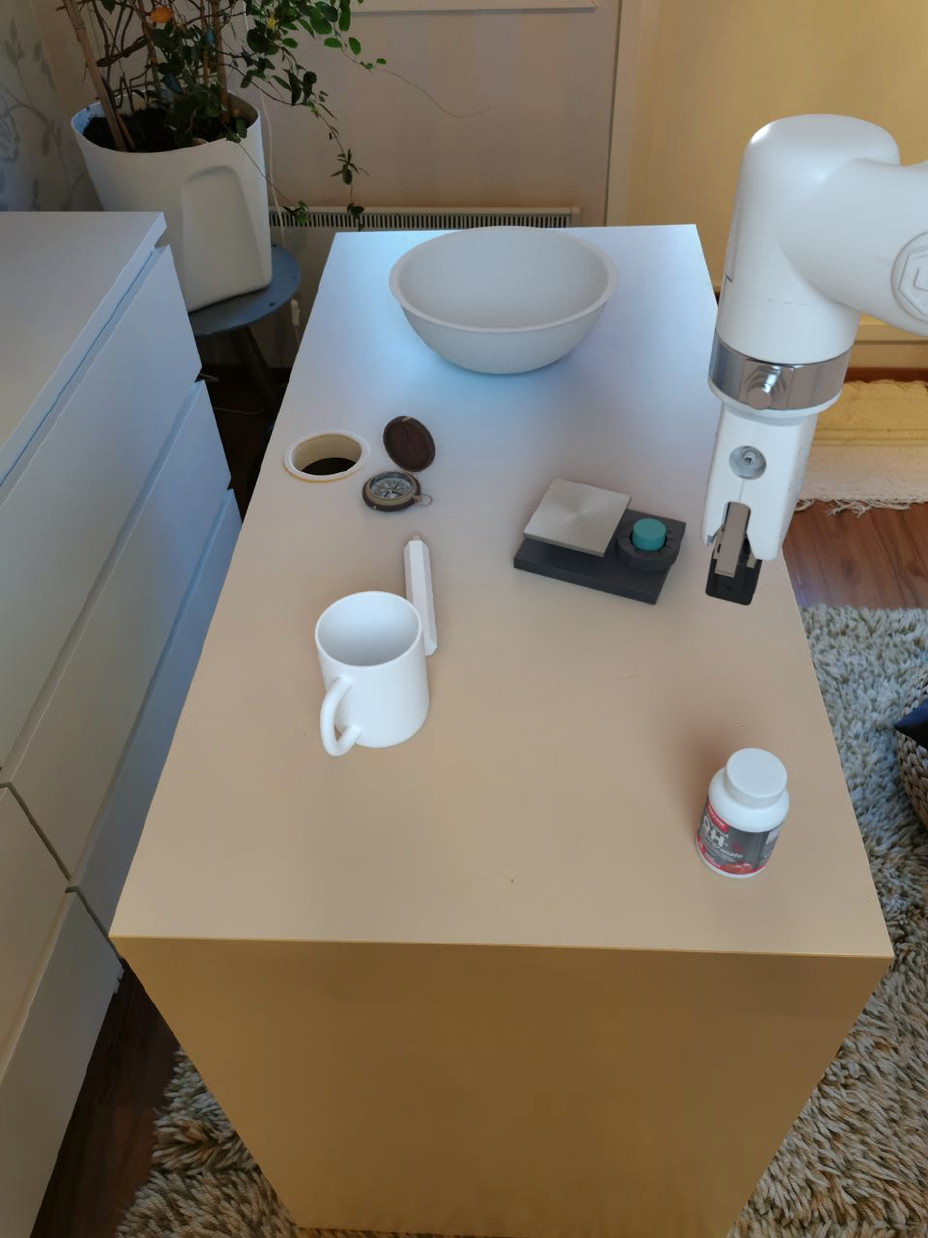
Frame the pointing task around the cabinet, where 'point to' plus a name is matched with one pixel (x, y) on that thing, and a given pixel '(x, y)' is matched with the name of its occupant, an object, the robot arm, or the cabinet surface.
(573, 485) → the pan
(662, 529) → the button
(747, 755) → the pill bottle
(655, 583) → the scale
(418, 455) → the compass
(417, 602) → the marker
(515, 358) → the bowl
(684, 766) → the cabinet surface
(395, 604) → the cup
